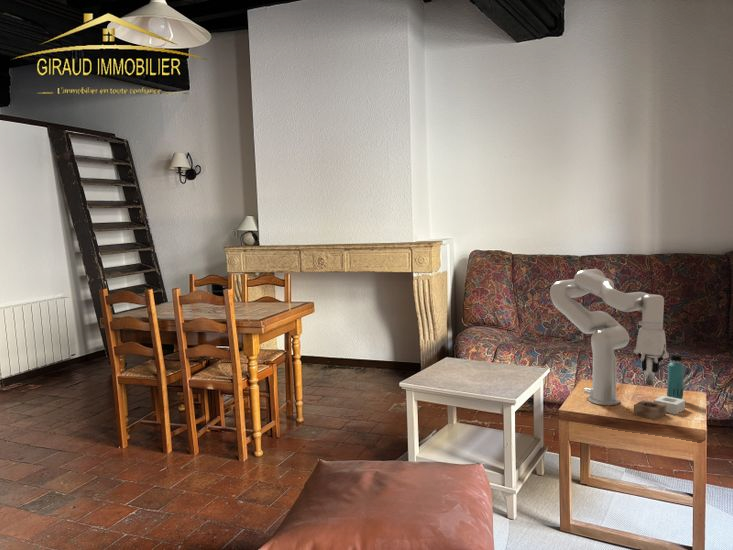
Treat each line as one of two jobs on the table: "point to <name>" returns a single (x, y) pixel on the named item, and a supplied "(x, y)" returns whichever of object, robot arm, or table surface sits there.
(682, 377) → the beverage bottle
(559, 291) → the robot arm
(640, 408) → the socket block
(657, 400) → the block
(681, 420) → the table surface
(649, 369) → the steel peg
